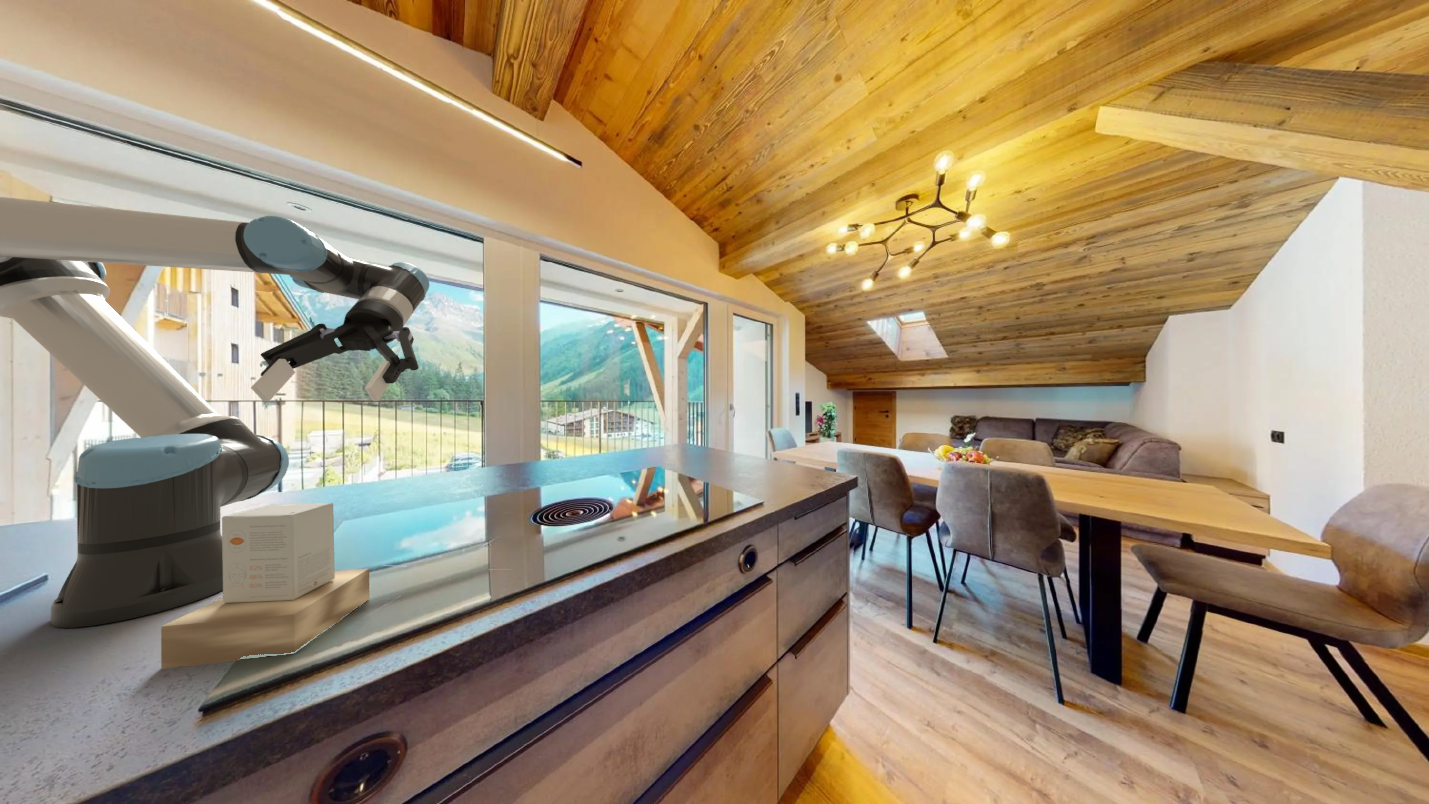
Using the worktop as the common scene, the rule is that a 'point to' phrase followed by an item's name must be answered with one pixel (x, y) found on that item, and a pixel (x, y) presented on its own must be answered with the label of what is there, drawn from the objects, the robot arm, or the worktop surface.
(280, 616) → the maple block
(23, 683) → the worktop surface
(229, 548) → the small box
